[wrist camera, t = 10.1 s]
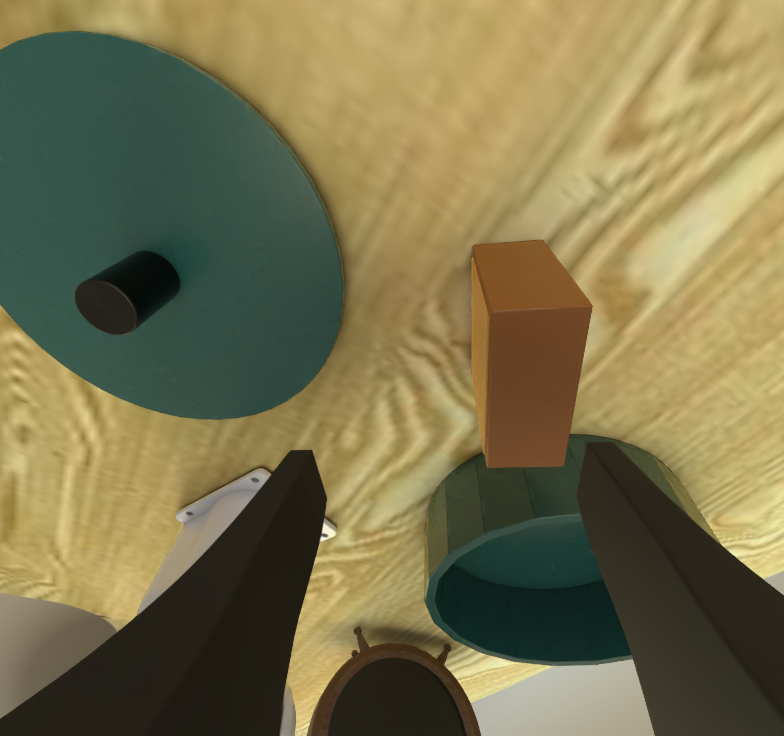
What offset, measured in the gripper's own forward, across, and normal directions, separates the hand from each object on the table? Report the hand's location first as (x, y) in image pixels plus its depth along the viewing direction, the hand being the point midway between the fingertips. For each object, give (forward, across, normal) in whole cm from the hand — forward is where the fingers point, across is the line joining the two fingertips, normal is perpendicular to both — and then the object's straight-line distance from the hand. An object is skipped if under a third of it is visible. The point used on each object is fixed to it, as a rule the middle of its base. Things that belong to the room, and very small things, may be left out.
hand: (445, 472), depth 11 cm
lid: (+10, +13, -3) cm, 16 cm away
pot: (+10, -7, +17) cm, 21 cm away
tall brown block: (+10, -3, +1) cm, 11 cm away
